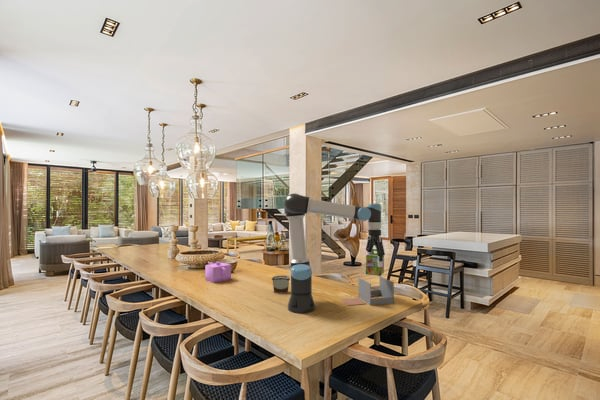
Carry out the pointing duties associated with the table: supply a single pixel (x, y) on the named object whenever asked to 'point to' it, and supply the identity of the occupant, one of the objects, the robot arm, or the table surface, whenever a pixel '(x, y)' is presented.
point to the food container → (280, 284)
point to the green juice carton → (373, 264)
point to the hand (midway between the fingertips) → (374, 264)
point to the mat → (353, 301)
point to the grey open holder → (377, 292)
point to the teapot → (217, 272)
